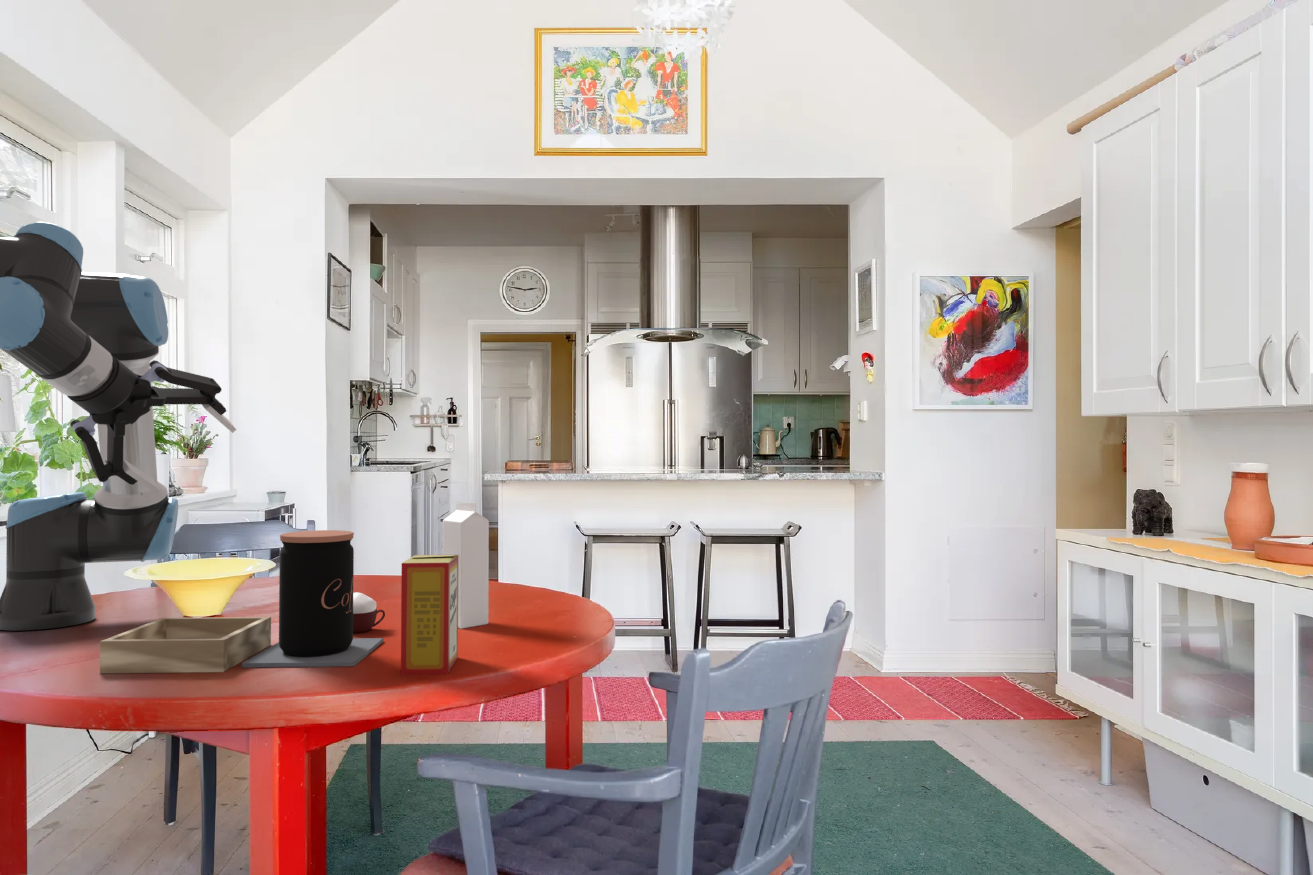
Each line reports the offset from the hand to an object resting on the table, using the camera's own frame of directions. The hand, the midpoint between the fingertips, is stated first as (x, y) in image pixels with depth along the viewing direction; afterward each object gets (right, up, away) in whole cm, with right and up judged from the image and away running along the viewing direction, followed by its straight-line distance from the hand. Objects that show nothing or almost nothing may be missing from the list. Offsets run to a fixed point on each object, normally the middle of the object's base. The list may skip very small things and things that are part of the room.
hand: (193, 456), depth 130 cm
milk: (+35, -31, +26) cm, 54 cm away
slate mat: (+17, -31, +3) cm, 35 cm away
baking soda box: (+37, -31, -4) cm, 48 cm away
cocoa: (+17, -31, +20) cm, 41 cm away
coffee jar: (+17, -30, +3) cm, 35 cm away
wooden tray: (-1, -30, 0) cm, 31 cm away
